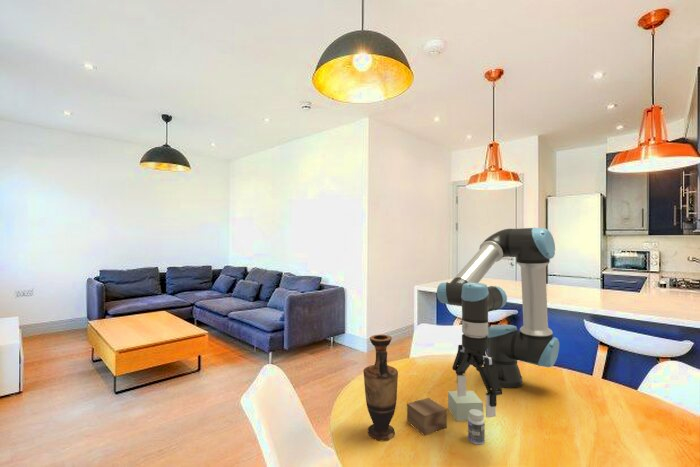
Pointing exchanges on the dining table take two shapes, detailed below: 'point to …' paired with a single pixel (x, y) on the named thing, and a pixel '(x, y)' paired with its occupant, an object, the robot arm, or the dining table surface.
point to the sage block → (463, 404)
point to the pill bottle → (476, 427)
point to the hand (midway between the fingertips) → (475, 405)
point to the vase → (381, 390)
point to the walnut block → (427, 416)
